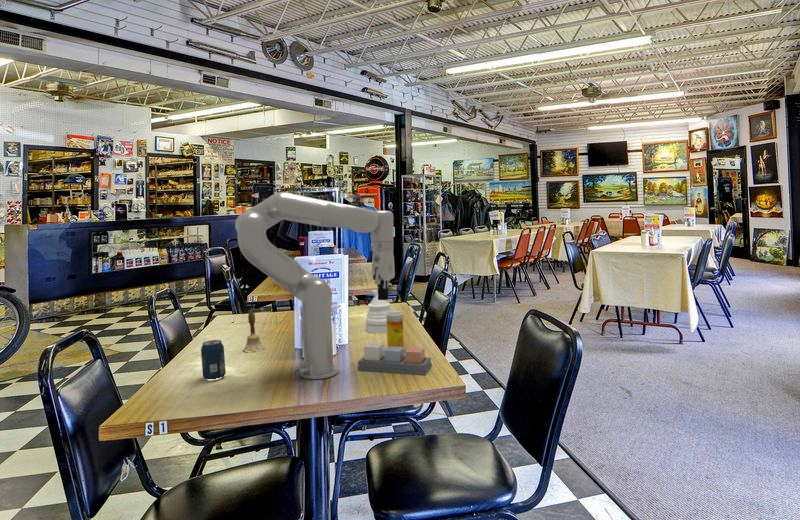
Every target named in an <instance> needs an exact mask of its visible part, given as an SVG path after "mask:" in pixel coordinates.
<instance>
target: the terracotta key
mask: <svg viewBox="0 0 800 520" xmlns="http://www.w3.org/2000/svg"><path fill="white" fill-rule="evenodd" d="M404 356H405V360H406V363H413V364H422V363H423V362H424V361H425V357H426V349H425V347H414V346H413V347H412V346H409V347H408V349H406V351H405V350H404Z"/></svg>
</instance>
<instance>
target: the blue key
mask: <svg viewBox="0 0 800 520" xmlns="http://www.w3.org/2000/svg"><path fill="white" fill-rule="evenodd" d="M384 355H385V362H397V363H401V362H402V361H403V360H404V356H405V346H404V347H392V346H389V347H388V346H387V347H386V349H384Z"/></svg>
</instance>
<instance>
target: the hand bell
mask: <svg viewBox="0 0 800 520" xmlns="http://www.w3.org/2000/svg"><path fill="white" fill-rule="evenodd" d="M247 318H248V323H249V326H250V327H249V328H250V330H249V331H250V334H249V335H248V336H247V338H246V339H247V340H246V345H245V346H244V347H243V349H244V350H247V351H255V350H260V349H263V348H264V347H265V346H264V345H263V344H262V343H261V342H262V341H261V340H260V335H258V334H256V329H255V323H256V315H255V312H254V310H253V309H249V311H248V315H247Z"/></svg>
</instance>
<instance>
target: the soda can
mask: <svg viewBox="0 0 800 520" xmlns="http://www.w3.org/2000/svg"><path fill="white" fill-rule="evenodd" d="M224 347H225V346H224V344H223V343H222V340H219V339H212V340H207V341H203V342H202V346H201V347H200V356H201V357H200V358H201V368H202V377H203V379H204V378H205V379H216V378H220V377H223V376H224V375H225V376H226V374H227V373H226V372H227V370H226V359H225V348H224ZM225 376H224V377H225ZM205 379H204V380H205Z"/></svg>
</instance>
